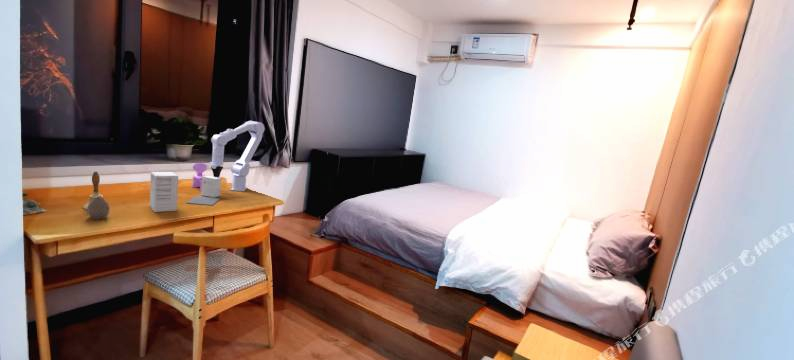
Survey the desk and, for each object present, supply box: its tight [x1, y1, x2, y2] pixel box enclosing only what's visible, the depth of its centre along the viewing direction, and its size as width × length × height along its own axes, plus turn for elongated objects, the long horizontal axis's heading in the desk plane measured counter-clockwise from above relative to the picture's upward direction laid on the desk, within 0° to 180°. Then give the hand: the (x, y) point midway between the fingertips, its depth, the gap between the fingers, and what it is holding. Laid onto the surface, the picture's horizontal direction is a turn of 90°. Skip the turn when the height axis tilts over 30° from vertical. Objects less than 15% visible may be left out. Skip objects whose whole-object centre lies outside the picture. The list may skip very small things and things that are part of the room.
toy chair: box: [190, 162, 208, 191], centre depth 205 cm, size 8×9×15 cm
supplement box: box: [149, 171, 179, 213], centre depth 162 cm, size 10×9×17 cm
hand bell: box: [82, 171, 104, 210], centre depth 151 cm, size 8×8×16 cm
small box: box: [200, 175, 223, 198], centre depth 194 cm, size 8×6×10 cm
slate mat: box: [186, 195, 221, 206], centre depth 184 cm, size 14×12×1 cm
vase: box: [86, 196, 111, 220], centre depth 141 cm, size 7×7×9 cm
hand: (216, 178), depth 202 cm, fingers closed
